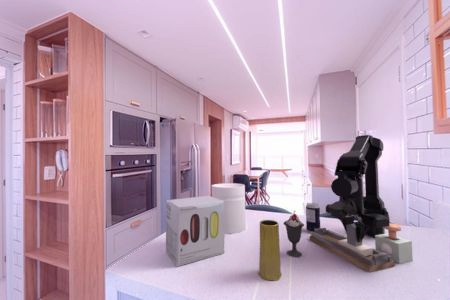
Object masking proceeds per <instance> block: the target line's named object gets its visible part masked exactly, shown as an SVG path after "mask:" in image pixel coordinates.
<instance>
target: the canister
mask: <svg viewBox="0 0 450 300" xmlns="http://www.w3.org/2000/svg"><path fill="white" fill-rule="evenodd" d="M211 197H213V198H216V199H219V200H222V201H224V235H226V234H227V235H233V234H238V233H239V234H240V233H242V232H244V231H245V230H246V185H245V184H243V183H235V182H233V183H230V182H229V183H228V182H227V183H225V182H224V183H215V184H211Z"/></svg>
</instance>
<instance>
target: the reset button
mask: <svg viewBox="0 0 450 300" xmlns="http://www.w3.org/2000/svg"><path fill="white" fill-rule="evenodd" d="M384 229H385V230H388V234H389V239H391V240H394V241H395V240H397V237H398V235H397V232H401V231H402V226H401V225H400V224H395V223H391V222H390V223H389V226H387V227H384Z"/></svg>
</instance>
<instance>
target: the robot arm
mask: <svg viewBox="0 0 450 300" xmlns="http://www.w3.org/2000/svg"><path fill="white" fill-rule="evenodd" d="M383 151H384V142H383V141H382V139H381V138H377V137H374V136H373V135H370V134H363V135H357V136H356V137H355V141H354V143H353V144H352V146H351V148H350V150H349V151H347V152H345V153H343V154H341V156H340V157H339V159H337V162H336V165H335V171H334V177H335V176H337V178H335V179H334V180H332V182H331V184H330V187H331V191H332V193H333V194H334V195H336V196H338V197H339V199H338V200H337V201H334V202H333V203H330V204H327V205H326V206H325V213H327V214H330V216H331V217H335V218H336V219H338V220H339V221H340V222H341V224H342V225H343V229H344V230H345V233H346V235H347V226H346V225H349V224H355V226H356V232H357V241H358V243H360V242H362V243H363V240H364V238H365V236H369V237H372V238H374V239H375V235H381V234H386V232H385V230H386V229H385V228H384V227H387V226H389V223H391V222H390V221H391V220H390V219H391V218H390V214H389V211H388V210H387V208H386V207H385V202H384V201H383V199H382V198H381V197H380V189H379V187H380V186H379V185H380V184H379V167H378V166H379V165H378V161H379V160H380V158H381V157H382V156H383ZM363 177H364V185H365V188H364V189H365V195H364V189H363V187H364V186H363ZM355 218H356V219H357V221H355Z"/></svg>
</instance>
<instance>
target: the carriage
mask: <svg viewBox="0 0 450 300" xmlns="http://www.w3.org/2000/svg"><path fill="white" fill-rule="evenodd" d="M346 226H347V234H346V237H347V239H344V240H338V243H339V244H341V245H343V246H345V247H347V248H349V249H351V250H353V251H355V252H358V253H360V254H362V255H364V256H368V255H373V249H374V248H373V247H370V246H368V245H366V244H364V243H363V241H362V242H360V243H358V241H357V232H356V226H355V224H349V225H346Z"/></svg>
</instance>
